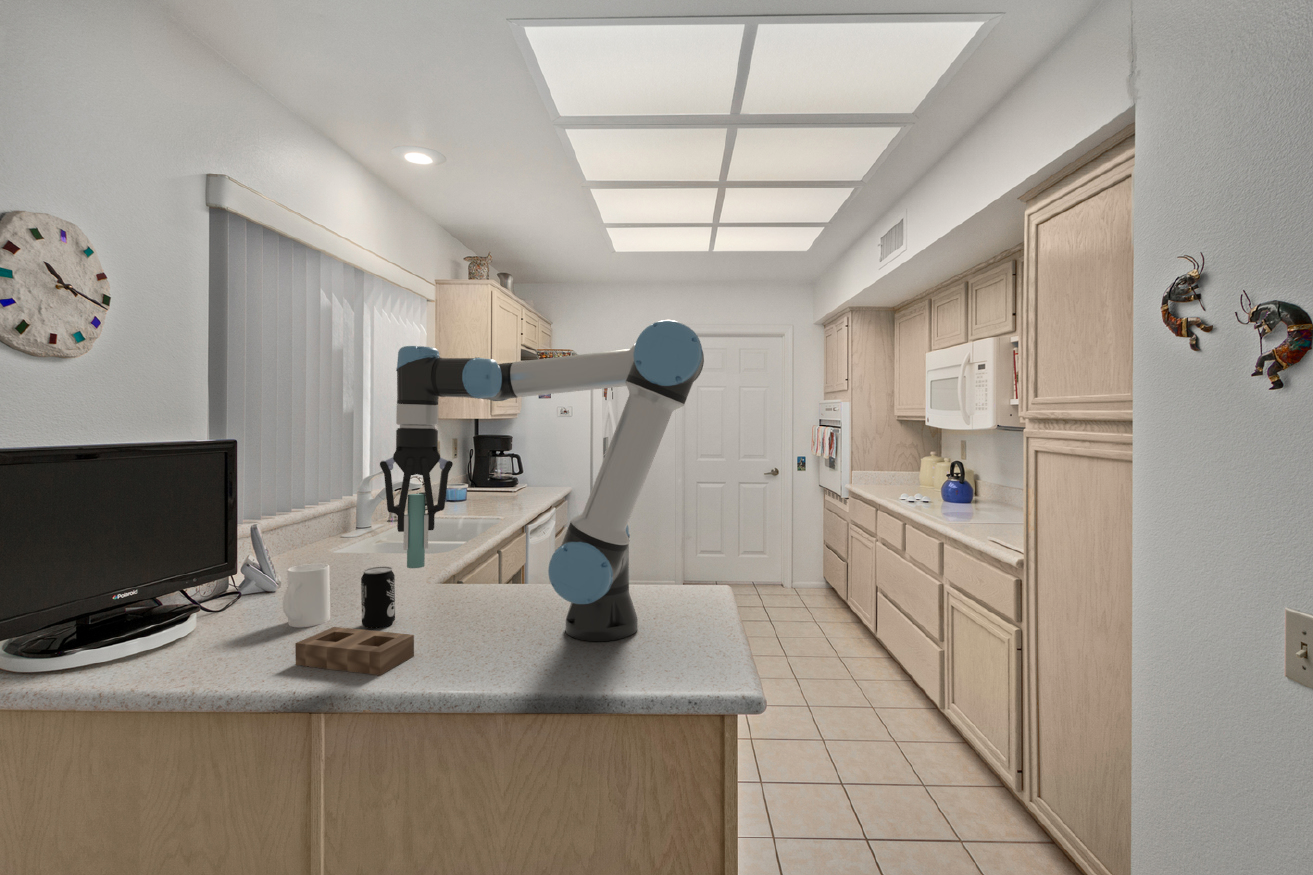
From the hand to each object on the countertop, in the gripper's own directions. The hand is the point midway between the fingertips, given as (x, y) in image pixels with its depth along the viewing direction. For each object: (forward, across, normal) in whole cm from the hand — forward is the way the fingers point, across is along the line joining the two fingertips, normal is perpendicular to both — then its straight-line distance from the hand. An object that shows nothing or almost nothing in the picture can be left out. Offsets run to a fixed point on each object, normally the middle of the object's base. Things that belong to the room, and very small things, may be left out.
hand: (415, 547), depth 117 cm
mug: (+20, +22, -24) cm, 38 cm away
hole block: (+20, +10, +3) cm, 22 cm away
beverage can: (+20, +7, -17) cm, 27 cm away
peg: (+4, 0, 0) cm, 4 cm away
